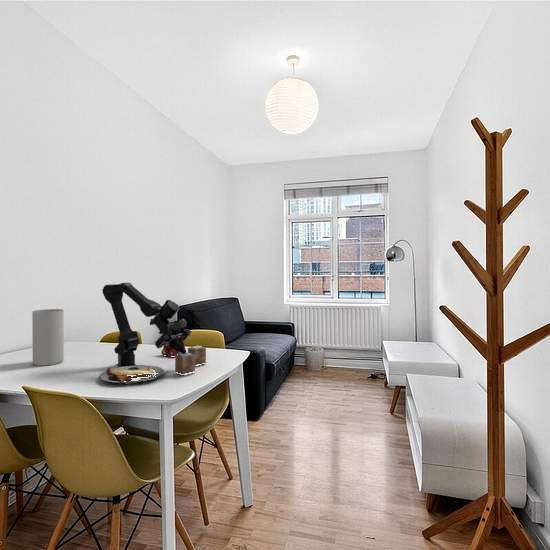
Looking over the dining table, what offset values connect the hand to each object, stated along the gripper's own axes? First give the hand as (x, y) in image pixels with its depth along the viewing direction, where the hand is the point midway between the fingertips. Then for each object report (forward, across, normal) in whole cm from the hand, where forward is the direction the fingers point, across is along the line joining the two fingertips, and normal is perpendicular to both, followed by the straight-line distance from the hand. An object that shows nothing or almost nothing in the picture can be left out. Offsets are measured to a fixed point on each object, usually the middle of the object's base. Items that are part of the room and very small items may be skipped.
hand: (185, 352), depth 155 cm
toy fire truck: (-11, +24, +24) cm, 36 cm away
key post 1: (+4, +14, +9) cm, 17 cm away
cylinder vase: (-43, -12, +56) cm, 72 cm away
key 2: (+6, 0, +6) cm, 8 cm away
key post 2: (+6, 0, +6) cm, 9 cm away
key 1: (+3, +14, +9) cm, 17 cm away
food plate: (-5, -13, +18) cm, 23 cm away
